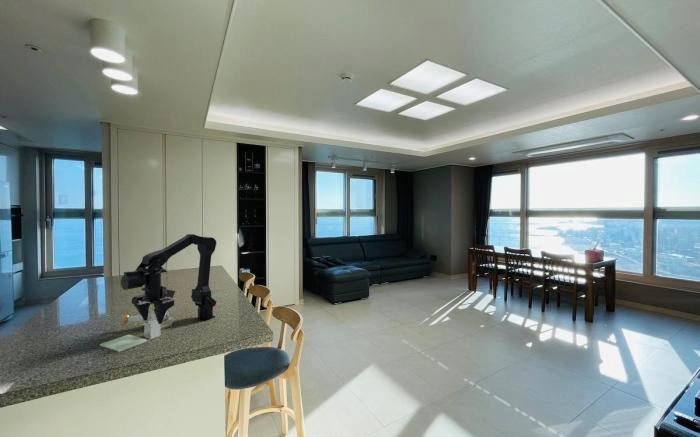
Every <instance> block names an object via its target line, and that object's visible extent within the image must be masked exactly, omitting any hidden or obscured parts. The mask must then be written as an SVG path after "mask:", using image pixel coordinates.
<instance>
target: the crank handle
mask: <svg viewBox="0 0 700 437" xmlns="http://www.w3.org/2000/svg"><path fill="white" fill-rule="evenodd" d="M121 316H122V317H121V323H122V324H128V323H133V322H134V323H135V322H143V321H144V319H143V318H142V316H141V315H140V314H139V315H132V316H130V314H129V313H128V314H127V313H126V314H122V315H121ZM169 317H170V311H169V310H167V311H166V313H165V316H164V319H163V321H162V322H164V321H166V320H168V319H169ZM154 319H155V320H157V318H156V315H155V312H154V311H153V312H151V314H150V313H148V319H147V320H146V321H149V320H154Z"/></svg>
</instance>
